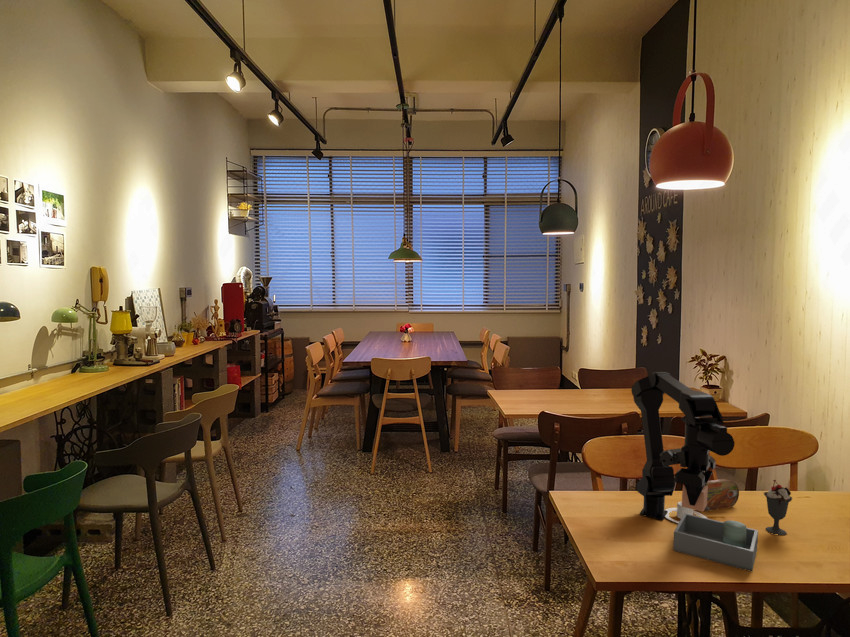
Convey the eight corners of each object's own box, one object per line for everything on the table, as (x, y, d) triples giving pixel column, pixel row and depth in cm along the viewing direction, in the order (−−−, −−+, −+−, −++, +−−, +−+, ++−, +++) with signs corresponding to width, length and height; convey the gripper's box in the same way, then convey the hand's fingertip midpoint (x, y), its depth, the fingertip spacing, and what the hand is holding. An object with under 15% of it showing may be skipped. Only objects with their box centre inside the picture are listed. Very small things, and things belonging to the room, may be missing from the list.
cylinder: (723, 545, 140) (724, 518, 140) (746, 550, 138) (747, 523, 137) (721, 553, 136) (722, 526, 136) (744, 558, 133) (745, 531, 133)
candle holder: (716, 528, 152) (716, 513, 152) (672, 527, 152) (673, 512, 152) (696, 510, 164) (697, 496, 164) (656, 509, 164) (656, 495, 164)
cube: (686, 500, 144) (686, 481, 144) (707, 505, 141) (707, 486, 141) (681, 506, 140) (682, 487, 140) (703, 511, 137) (704, 492, 137)
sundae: (762, 534, 148) (765, 480, 147) (760, 524, 154) (763, 472, 153) (791, 539, 145) (794, 484, 144) (788, 529, 151) (791, 476, 150)
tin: (698, 512, 162) (699, 485, 161) (690, 508, 165) (691, 481, 164) (739, 506, 166) (740, 480, 165) (731, 502, 169) (732, 476, 168)
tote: (683, 530, 150) (684, 513, 150) (757, 549, 140) (758, 530, 139) (673, 550, 139) (673, 531, 139) (752, 571, 129) (753, 551, 129)
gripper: (672, 429, 151) (670, 483, 153) (654, 445, 137) (651, 505, 138) (717, 436, 145) (714, 493, 146) (702, 454, 130) (700, 517, 131)
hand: (694, 501), depth 140 cm, fingers closed on cube, 5 cm apart
